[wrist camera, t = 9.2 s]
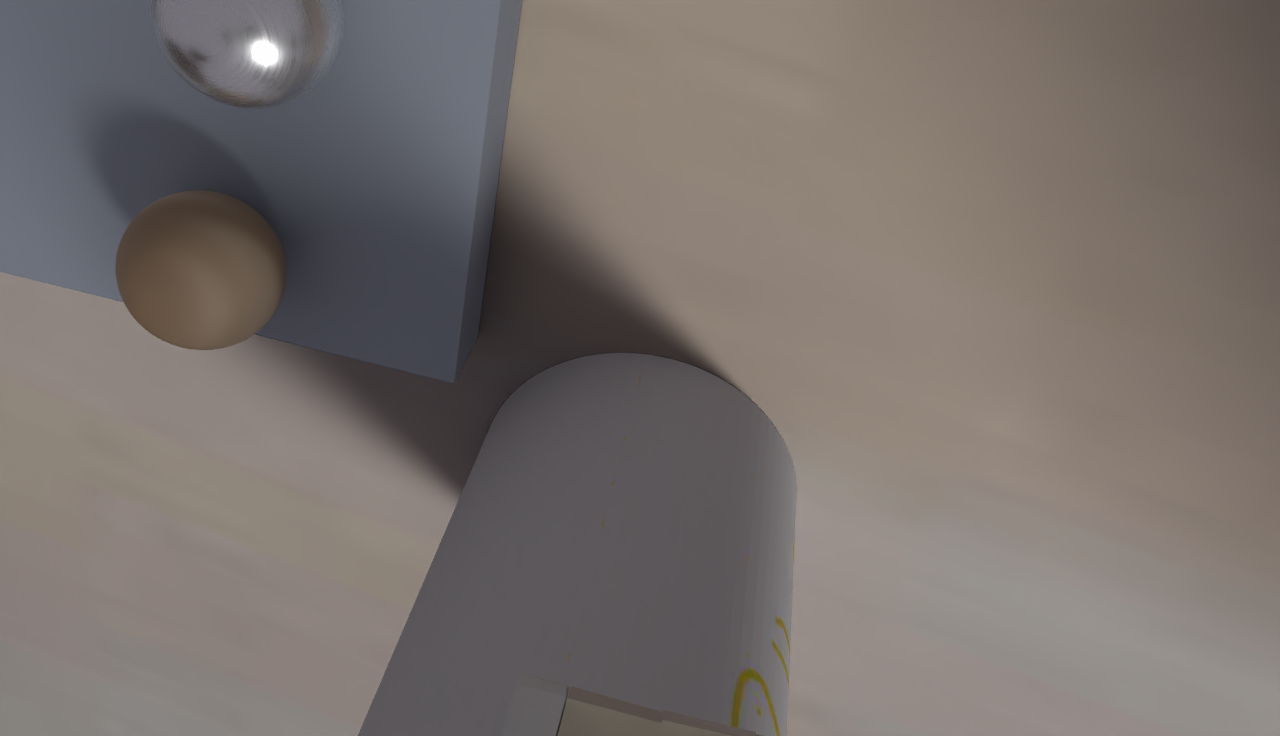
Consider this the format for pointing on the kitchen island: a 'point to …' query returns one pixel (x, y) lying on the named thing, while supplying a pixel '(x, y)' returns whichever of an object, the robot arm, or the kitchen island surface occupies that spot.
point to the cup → (609, 557)
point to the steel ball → (249, 46)
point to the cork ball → (200, 270)
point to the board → (273, 165)
